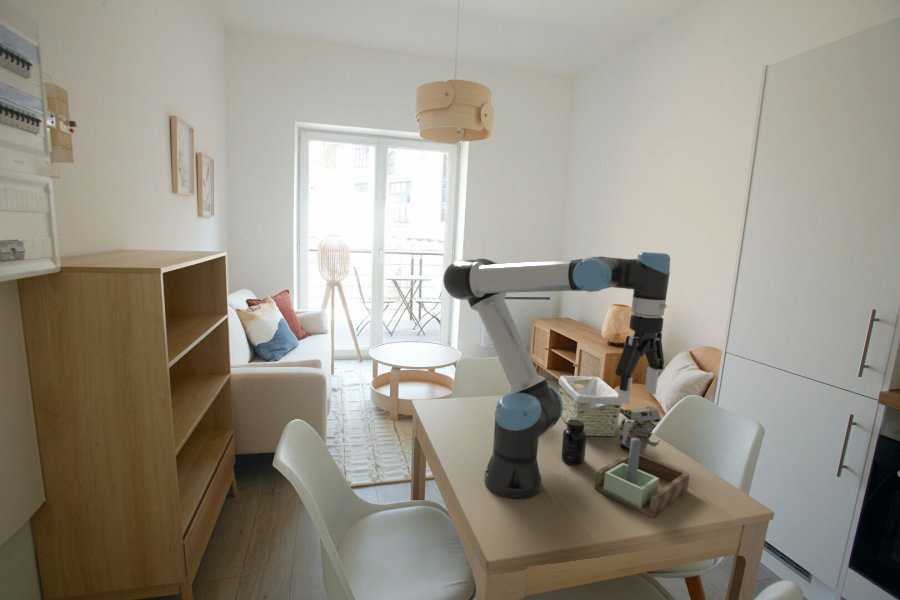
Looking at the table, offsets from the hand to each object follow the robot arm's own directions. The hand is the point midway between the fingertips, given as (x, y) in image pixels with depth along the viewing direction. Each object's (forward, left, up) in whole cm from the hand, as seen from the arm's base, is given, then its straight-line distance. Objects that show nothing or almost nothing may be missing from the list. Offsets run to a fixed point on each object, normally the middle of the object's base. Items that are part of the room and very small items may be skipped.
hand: (637, 397), depth 117 cm
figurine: (+26, +10, -27) cm, 39 cm away
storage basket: (+33, +33, -27) cm, 55 cm away
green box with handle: (0, -1, -26) cm, 26 cm away
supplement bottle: (+5, +20, -27) cm, 34 cm away
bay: (+6, -1, -27) cm, 28 cm away
